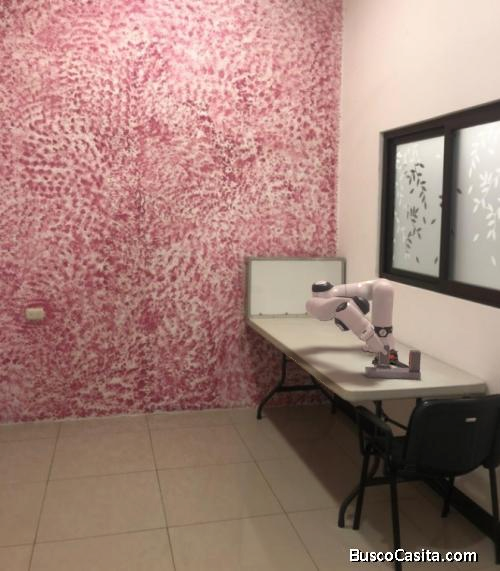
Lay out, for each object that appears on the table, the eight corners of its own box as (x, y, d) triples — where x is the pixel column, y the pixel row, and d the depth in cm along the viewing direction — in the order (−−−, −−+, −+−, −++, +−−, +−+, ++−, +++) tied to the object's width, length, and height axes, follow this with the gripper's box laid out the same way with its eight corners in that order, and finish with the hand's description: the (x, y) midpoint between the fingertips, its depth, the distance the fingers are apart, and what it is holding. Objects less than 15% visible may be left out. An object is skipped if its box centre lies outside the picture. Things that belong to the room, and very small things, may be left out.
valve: (363, 363, 309) (388, 357, 313) (392, 379, 285) (418, 371, 290) (362, 351, 307) (387, 345, 312) (391, 366, 283) (417, 359, 288)
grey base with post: (364, 373, 282) (365, 347, 280) (416, 374, 280) (418, 349, 279) (366, 377, 274) (367, 351, 273) (420, 379, 272) (421, 353, 271)
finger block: (378, 362, 279) (379, 343, 278) (388, 362, 279) (388, 343, 277) (379, 364, 275) (380, 345, 274) (389, 364, 275) (390, 345, 273)
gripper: (357, 331, 286) (377, 351, 287) (362, 340, 266) (383, 362, 267) (367, 322, 285) (387, 342, 286) (372, 330, 265) (394, 353, 266)
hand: (385, 352), depth 276 cm, fingers closed on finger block, 4 cm apart
